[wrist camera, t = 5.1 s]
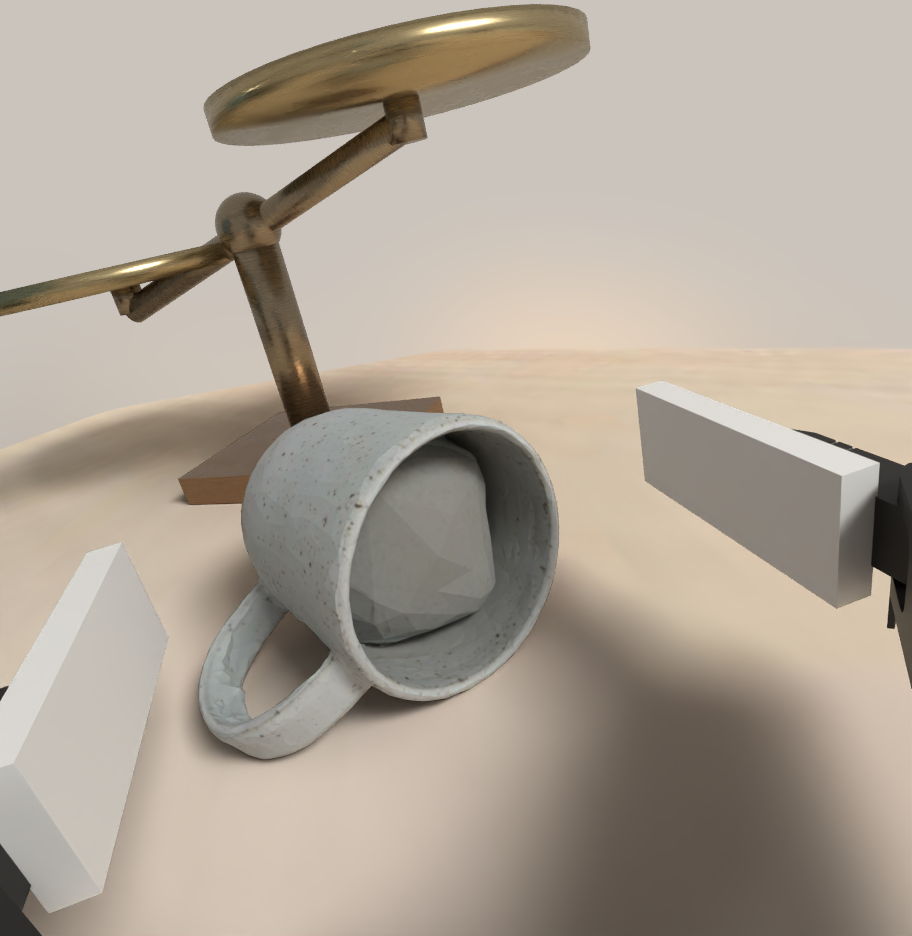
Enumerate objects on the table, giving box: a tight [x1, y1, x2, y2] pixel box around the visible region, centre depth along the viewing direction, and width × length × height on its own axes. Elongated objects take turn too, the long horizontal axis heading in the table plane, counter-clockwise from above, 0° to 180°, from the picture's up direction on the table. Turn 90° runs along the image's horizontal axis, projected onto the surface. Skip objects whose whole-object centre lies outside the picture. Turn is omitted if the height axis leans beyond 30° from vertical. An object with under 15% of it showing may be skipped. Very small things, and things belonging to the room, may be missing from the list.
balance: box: [0, 4, 590, 504], centre depth 34 cm, size 35×16×18 cm, turn 71°
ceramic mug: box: [198, 408, 559, 759], centre depth 19 cm, size 11×8×8 cm
